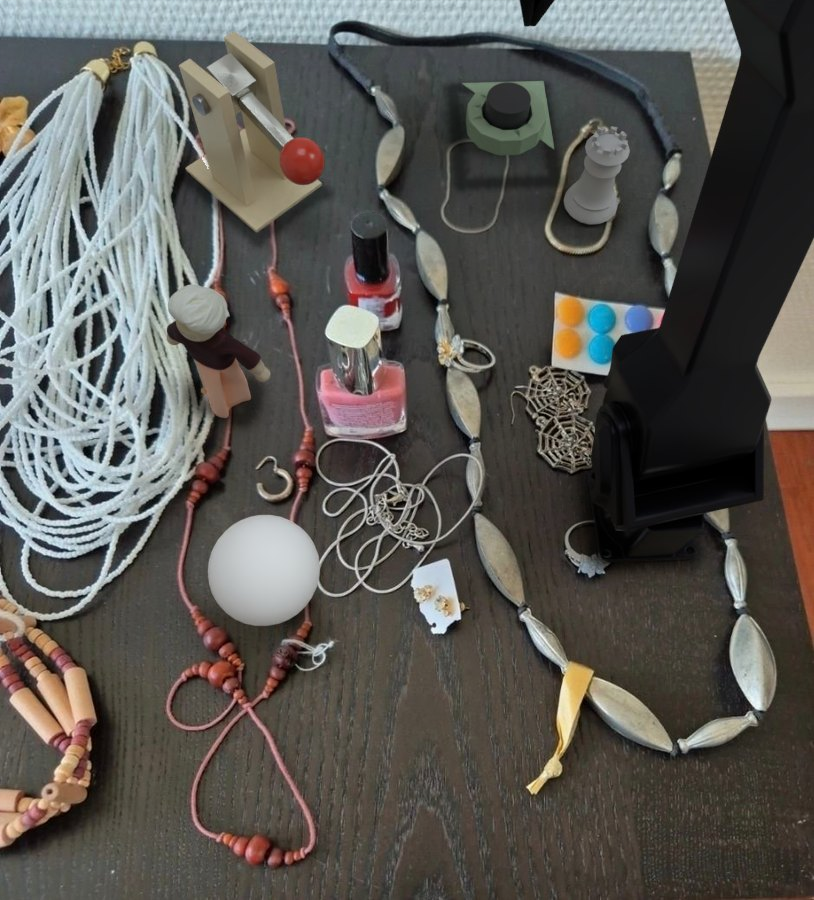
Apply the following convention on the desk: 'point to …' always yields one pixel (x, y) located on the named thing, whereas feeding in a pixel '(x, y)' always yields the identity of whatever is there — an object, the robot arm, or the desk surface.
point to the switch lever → (269, 122)
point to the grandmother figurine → (213, 347)
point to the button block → (509, 139)
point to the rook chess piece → (598, 178)
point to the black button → (507, 106)
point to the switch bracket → (241, 141)
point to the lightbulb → (263, 570)
